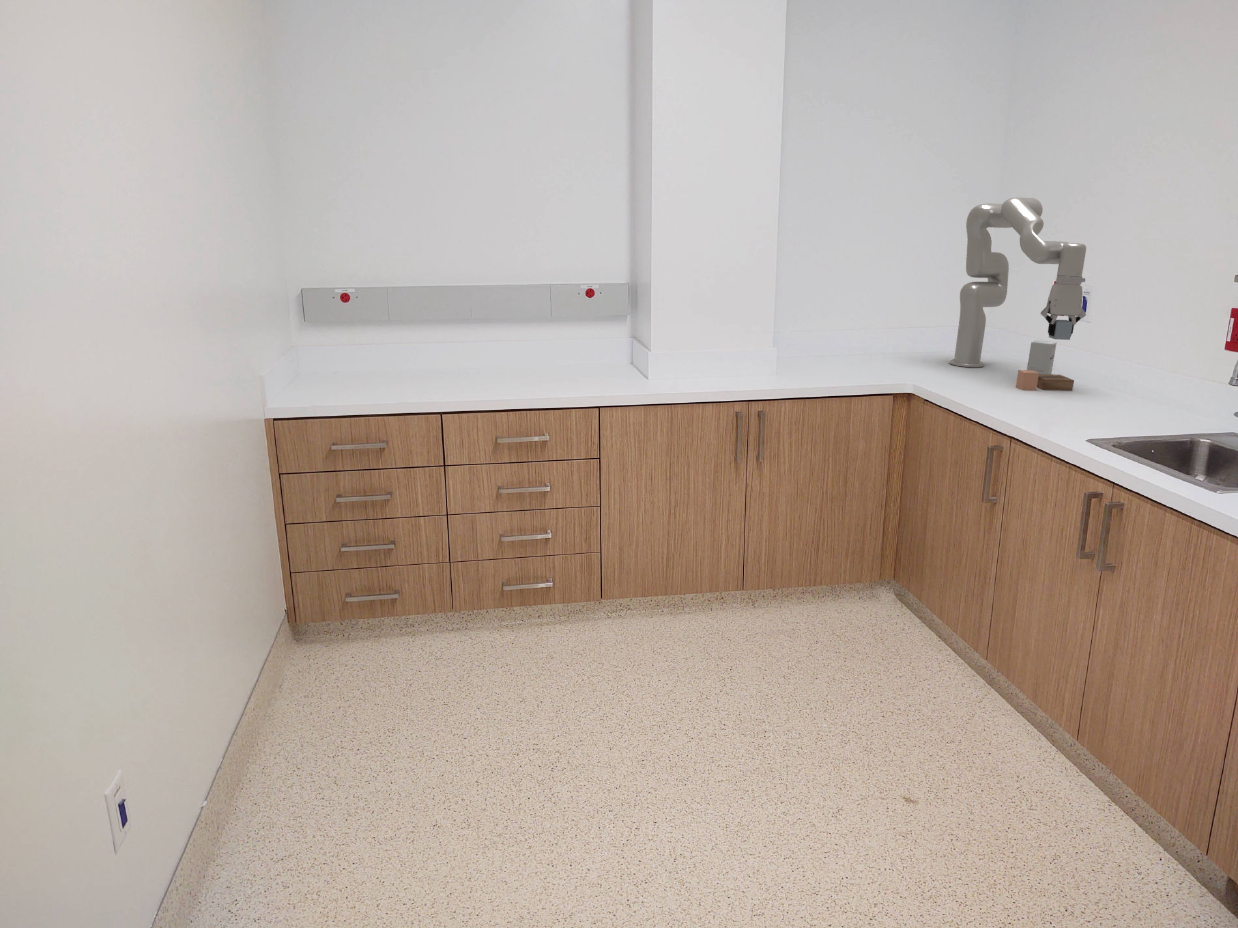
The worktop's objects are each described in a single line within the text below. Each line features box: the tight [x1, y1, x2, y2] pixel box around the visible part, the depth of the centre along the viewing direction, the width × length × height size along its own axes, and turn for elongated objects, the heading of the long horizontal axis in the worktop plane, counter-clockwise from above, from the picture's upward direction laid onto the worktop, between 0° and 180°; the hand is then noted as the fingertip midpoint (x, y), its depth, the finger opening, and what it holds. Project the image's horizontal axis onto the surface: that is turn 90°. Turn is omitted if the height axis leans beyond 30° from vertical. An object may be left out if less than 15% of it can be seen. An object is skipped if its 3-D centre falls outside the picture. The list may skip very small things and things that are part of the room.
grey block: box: [1048, 319, 1073, 341], centre depth 310 cm, size 5×5×6 cm
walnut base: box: [1037, 373, 1075, 392], centre depth 315 cm, size 10×10×4 cm
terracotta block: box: [1015, 369, 1039, 391], centre depth 311 cm, size 5×5×6 cm
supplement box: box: [1026, 339, 1057, 374], centre depth 334 cm, size 7×7×13 cm
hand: (1059, 335), depth 310 cm, fingers closed on grey block, 4 cm apart
